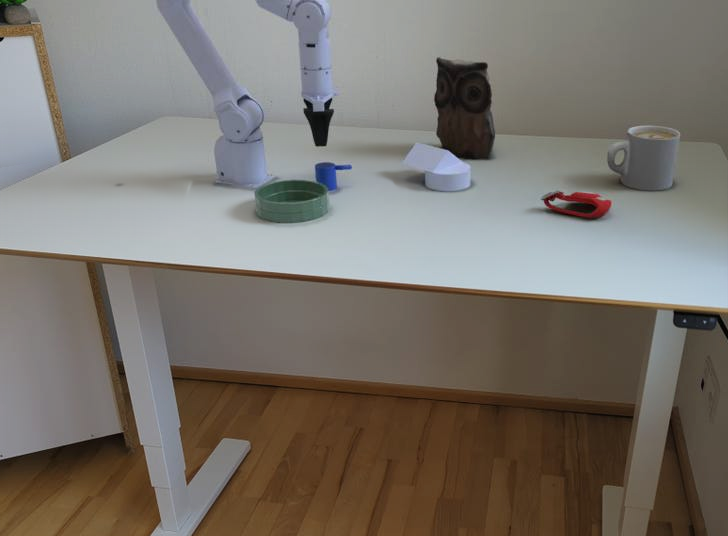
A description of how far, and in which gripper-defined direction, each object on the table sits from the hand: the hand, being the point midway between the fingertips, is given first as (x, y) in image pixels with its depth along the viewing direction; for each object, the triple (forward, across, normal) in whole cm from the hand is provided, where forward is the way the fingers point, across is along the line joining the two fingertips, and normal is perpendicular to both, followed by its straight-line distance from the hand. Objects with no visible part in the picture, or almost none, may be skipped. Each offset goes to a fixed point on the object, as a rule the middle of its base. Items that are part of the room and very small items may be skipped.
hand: (320, 140), depth 154 cm
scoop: (+9, -4, -2) cm, 10 cm away
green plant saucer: (+9, -15, +6) cm, 18 cm away
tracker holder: (+9, -21, -46) cm, 51 cm away
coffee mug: (+9, -8, -62) cm, 64 cm away
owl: (+9, +18, -33) cm, 39 cm away
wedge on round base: (+9, -2, -23) cm, 25 cm away
